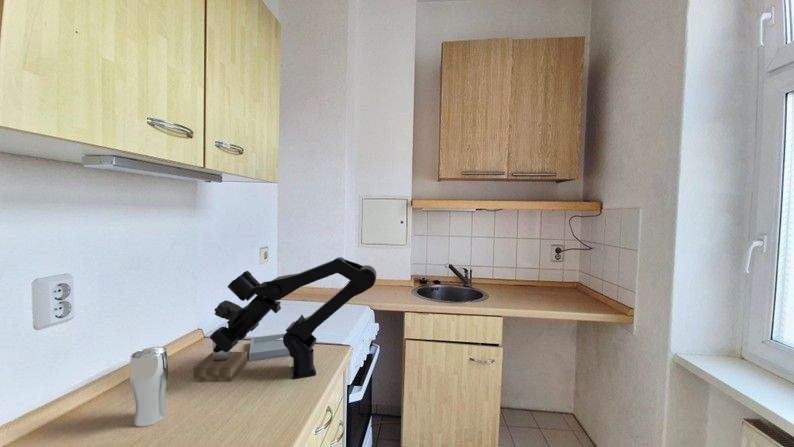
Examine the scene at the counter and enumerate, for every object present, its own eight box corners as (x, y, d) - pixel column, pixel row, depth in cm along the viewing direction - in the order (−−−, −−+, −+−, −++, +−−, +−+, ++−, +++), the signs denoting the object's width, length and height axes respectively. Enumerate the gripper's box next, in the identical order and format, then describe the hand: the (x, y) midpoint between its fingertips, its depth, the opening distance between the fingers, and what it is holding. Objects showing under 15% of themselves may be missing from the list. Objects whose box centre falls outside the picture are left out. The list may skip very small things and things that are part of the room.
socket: (246, 364, 101) (246, 351, 101) (230, 381, 91) (230, 367, 91) (213, 364, 101) (213, 351, 101) (193, 381, 91) (193, 367, 91)
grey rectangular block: (230, 371, 97) (229, 333, 96) (227, 374, 95) (226, 335, 95) (216, 371, 97) (215, 333, 96) (213, 374, 95) (212, 336, 95)
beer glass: (162, 425, 72) (161, 357, 72) (124, 430, 70) (122, 361, 70) (174, 407, 79) (172, 344, 78) (139, 411, 77) (137, 348, 76)
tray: (296, 354, 108) (296, 347, 108) (249, 361, 103) (249, 353, 103) (293, 339, 121) (293, 332, 121) (251, 344, 116) (251, 337, 116)
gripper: (248, 284, 104) (213, 319, 105) (217, 301, 86) (174, 343, 86) (273, 309, 105) (239, 344, 105) (248, 331, 86) (206, 373, 86)
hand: (216, 350), depth 95 cm, fingers closed on grey rectangular block, 2 cm apart
